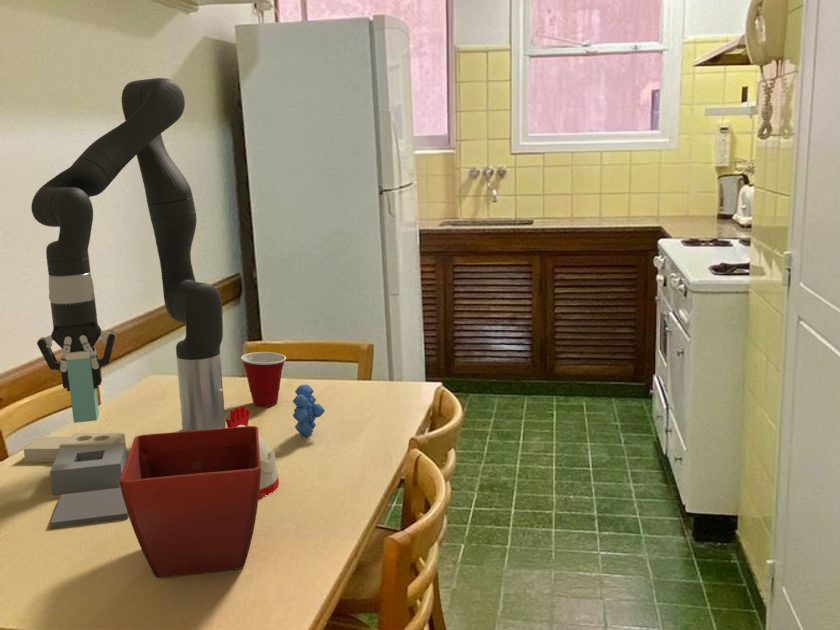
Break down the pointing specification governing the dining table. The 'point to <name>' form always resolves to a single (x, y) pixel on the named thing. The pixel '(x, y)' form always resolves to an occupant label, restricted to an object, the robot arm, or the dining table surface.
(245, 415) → the kitchen timer
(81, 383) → the plug
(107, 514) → the mat
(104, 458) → the grey square socket block
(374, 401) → the dining table surface
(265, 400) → the plastic cup
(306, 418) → the grapes
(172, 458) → the plant pot
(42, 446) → the electrical outlet
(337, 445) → the dining table surface
